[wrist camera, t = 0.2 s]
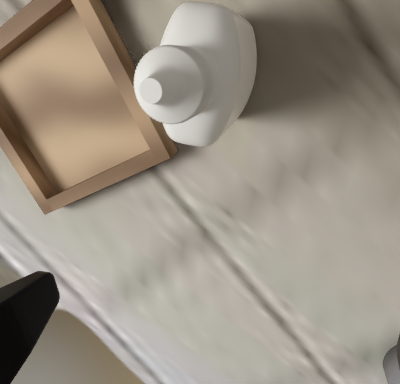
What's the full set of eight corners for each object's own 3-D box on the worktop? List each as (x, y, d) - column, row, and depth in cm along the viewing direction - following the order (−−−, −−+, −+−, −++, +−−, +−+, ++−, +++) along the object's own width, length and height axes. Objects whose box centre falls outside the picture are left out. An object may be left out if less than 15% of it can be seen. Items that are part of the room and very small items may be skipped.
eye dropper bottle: (287, 53, 18) (280, 50, 8) (228, 130, 21) (161, 207, 10) (227, 4, 18) (135, -67, 8) (175, 87, 21) (51, 122, 10)
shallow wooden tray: (178, 151, 22) (170, 158, 21) (57, 206, 27) (44, 214, 26) (87, -27, 20) (71, -33, 18) (-30, 68, 24) (-50, 69, 23)
